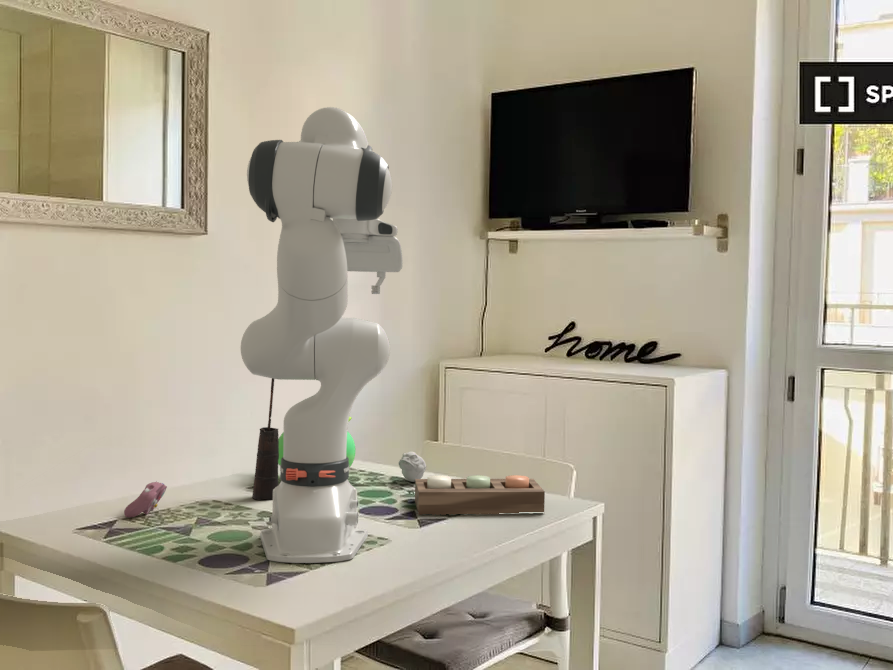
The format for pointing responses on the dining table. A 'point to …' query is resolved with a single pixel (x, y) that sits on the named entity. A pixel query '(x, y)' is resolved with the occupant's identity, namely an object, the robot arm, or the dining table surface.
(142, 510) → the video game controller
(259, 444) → the butter churn
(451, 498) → the button panel
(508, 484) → the terracotta button
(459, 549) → the dining table surface
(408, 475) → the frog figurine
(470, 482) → the sage button
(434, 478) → the cream button
